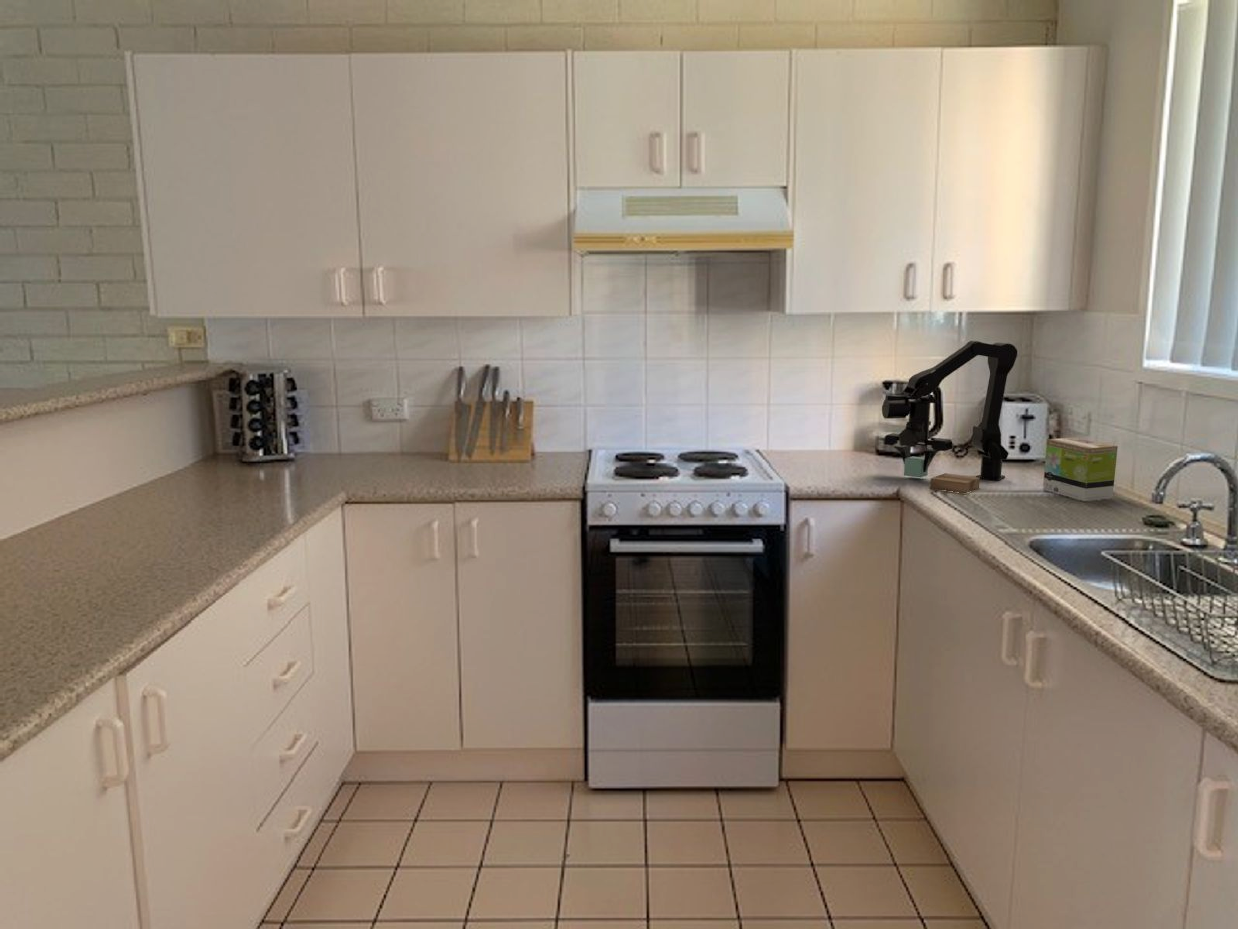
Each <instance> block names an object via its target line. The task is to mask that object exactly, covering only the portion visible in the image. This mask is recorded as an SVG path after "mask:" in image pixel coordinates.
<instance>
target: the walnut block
mask: <svg viewBox="0 0 1238 929" xmlns="http://www.w3.org/2000/svg"><path fill="white" fill-rule="evenodd" d="M980 481H981V478H978V477H976V476H969V475H962V474H961V475H960V474H953V473H942V474H938V475H936V476H933V477H931V478H930V484H929V490H931V489H932V491H938V490H946V491H953V492H959V493H967V492H970V491H972V490H975V491H977V490H979V489H980V484H981V483H980ZM972 492H973V491H972ZM959 493H958V494H959ZM970 493H971V492H970Z"/></svg>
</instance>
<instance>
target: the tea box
mask: <svg viewBox="0 0 1238 929" xmlns="http://www.w3.org/2000/svg"><path fill="white" fill-rule="evenodd" d="M1118 447H1119V445H1116V444H1115V445H1114V444H1109V443H1104V442H1098V441H1095V440H1090V439H1085V438H1080V437H1074V436H1073V437H1062V438H1061V437H1060V438H1050V439H1048V438H1047V440H1046V449H1045V461H1044V462H1045V463H1044V472H1043V482H1042V483H1043V484H1042V487H1043V488H1042V490H1043V491H1045V490H1046V491H1047V492H1049V493H1050V492H1051V493H1055V494H1058V495H1061V496H1065V497H1067V496H1068V498H1070V499H1075V500H1077V501H1080V500H1082V501H1081V502H1083V501H1087V500H1098V501H1101V500H1100V499H1107V500H1111V499H1110V498H1112V499H1113V495H1114V487H1115V486H1114V485H1115V479H1116V478H1115V476H1116V468H1117V467H1116V466H1117V460H1118V459H1117V457H1118V456H1117V455H1118Z"/></svg>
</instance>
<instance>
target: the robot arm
mask: <svg viewBox="0 0 1238 929" xmlns="http://www.w3.org/2000/svg"><path fill="white" fill-rule="evenodd" d="M978 356H983V357H987V365H988V370H989V377H988V378H989V379H988V382H987V383H988V384H987V390H986V395H985V401H984V404H983V405H984V407H983V412H982V417H981V420H980V423H979V425H978V426H976V425H973V427H972V434H971V437H970V440H972V441H971V443H972V447H974V449H975V450H976V452H977V455H979V456H981V461H980V462H981V463H980V474H977V475H976V476H975V477H978V478H980V479H985V480H992V481H1000V480H1002V479H1004V478H1006V475H1002V472H1003V470H1002V468H1003V460H1004V461H1006V460H1007V459H1008V457H1009V454H1010V453H1009V451H1008V450H1007V449H1006V448H1005V447H1004V446H1003V445H1002V432H1001V428H1000V418H1001V413H1002V408H1003V401H1004V397H1005V391H1006V386H1007V381H1008V380H1007V379H1008V375H1009V374H1010V372H1011V371H1012V369H1013V368H1014V366H1015V363H1016V360H1017V358H1018V349H1017V347H1016V346H1015V345H1014V344H1012V343H1010V342H1008V343H1007V342H994V343H986V342H981V341H978V340H970V341H968V342H967V343H966V344H965V345H963V346H962V347H960V348H959V349H957V350H955V352H953V353H952V354H950V355H949V356H948V357H946V358H945V359H943V360H942V361H940V362H939V363H937V364H936V365H935V366H933V367H930V368H927V369H925V370H921V371H920V372H917V373H915V374H913V375H912V376H911V377H909V379H908V382H907V385H906V387H905V388H904V389H903V390H902V392H900V394H899V395H891V394H885V399H884V401H883V403H882V406H881V413H882V417H883V418H884V419H886V420H888V419H890V420H891V419H893V420H894V419H906V418H907V417H908V421H906V423H905V424H906V425H905V428H904V429H903V430H902V431H901V432H900V433H894V432H893V433H888V434H886V435H885V436H884V438H883V445H886V446H893V448H894V449H896V450H897V451H898V452H899V454H900V456H901V458H902V461H903V464H904V466H905V458H909V457H911V450H912V448H913V447H916V446H921V447H922V446H923V447H926V448H927V449H923V453H924V457H923V458H924V466H923V472H926V471H927V469H928V470H929V467H930V465H931V463H932V461H933V459H934V457H935V456H936V454H937V453H938V452H946V451H949V450H952V449H953V445H954V444H953V441H952V439H950V438H940V437H938V438H935V439H933V440H932V439H931V435H929V431H930V426H931V425H932V422H931V420H930V417H931V416H930V414H931V412H930V411H931V404H938V402H939V401H938V399H936V398H935V397H934V394H932V393H933V392H934V391H935V390H936V389H937V388H938V387H939V386H940V385H941V384H942V383H941V382H943V381H944V380H945V379H946V378H947V377H948V376H950V375H951V374H952V373H954V372H956V371H957V370H959V369H960V368H962V367H963V366H965V364H967V363H968V362H970V361H971V360H973V359H974V358H976V357H978ZM930 439H931V440H930Z"/></svg>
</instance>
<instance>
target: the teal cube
mask: <svg viewBox="0 0 1238 929" xmlns="http://www.w3.org/2000/svg"><path fill="white" fill-rule="evenodd" d="M924 458H925V457H919V456H914V455H913V456H910V457H909V458H905V465H904V466H903V470H904V471H903V476H906V477H914V478H923V477H927V476H929V475H928V474H929V473H928V472H929V471H928V470H929V468H928V469H927V471H926V472H923V466H924Z"/></svg>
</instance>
